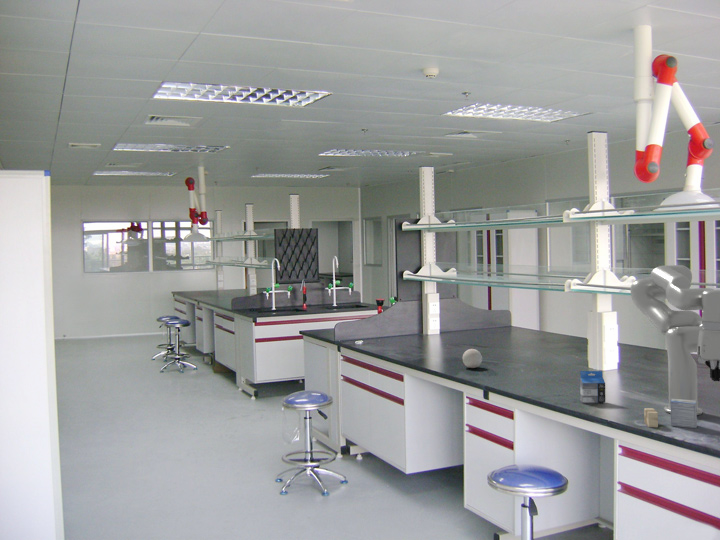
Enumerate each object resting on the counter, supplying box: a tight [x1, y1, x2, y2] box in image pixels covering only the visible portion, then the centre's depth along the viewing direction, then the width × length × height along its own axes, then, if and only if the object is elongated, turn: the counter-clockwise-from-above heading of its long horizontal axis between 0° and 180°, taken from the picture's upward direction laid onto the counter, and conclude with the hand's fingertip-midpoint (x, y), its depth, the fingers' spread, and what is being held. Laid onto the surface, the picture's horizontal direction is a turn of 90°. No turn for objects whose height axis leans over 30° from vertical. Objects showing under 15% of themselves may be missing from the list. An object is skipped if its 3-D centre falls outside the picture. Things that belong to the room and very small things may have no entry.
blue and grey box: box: [579, 370, 606, 404], centre depth 255 cm, size 9×4×12 cm, turn 84°
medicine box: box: [670, 399, 698, 429], centre depth 220 cm, size 8×4×9 cm, turn 59°
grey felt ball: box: [462, 348, 483, 369], centre depth 335 cm, size 10×10×10 cm
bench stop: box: [643, 407, 659, 428], centre depth 222 cm, size 6×3×5 cm, turn 169°
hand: (715, 380), depth 217 cm, fingers closed
